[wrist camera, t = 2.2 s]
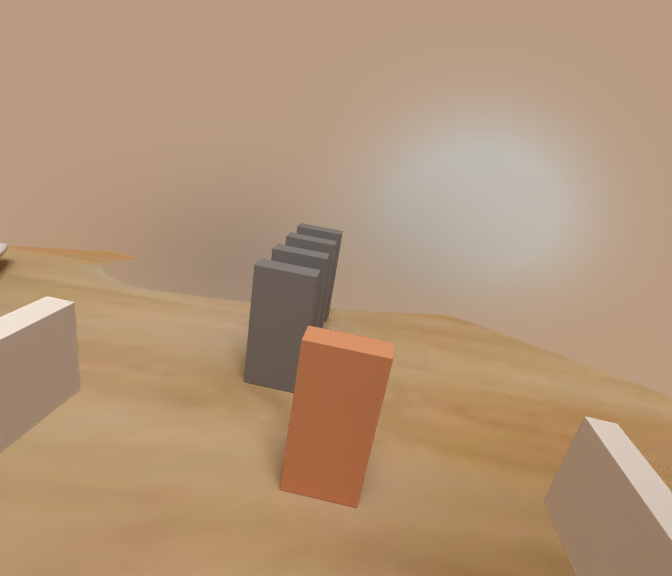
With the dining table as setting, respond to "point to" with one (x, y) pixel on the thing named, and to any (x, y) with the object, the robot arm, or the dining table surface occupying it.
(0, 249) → the salad plate
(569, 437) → the dining table surface
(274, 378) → the domino
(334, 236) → the domino
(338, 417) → the domino
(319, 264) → the domino
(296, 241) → the domino
